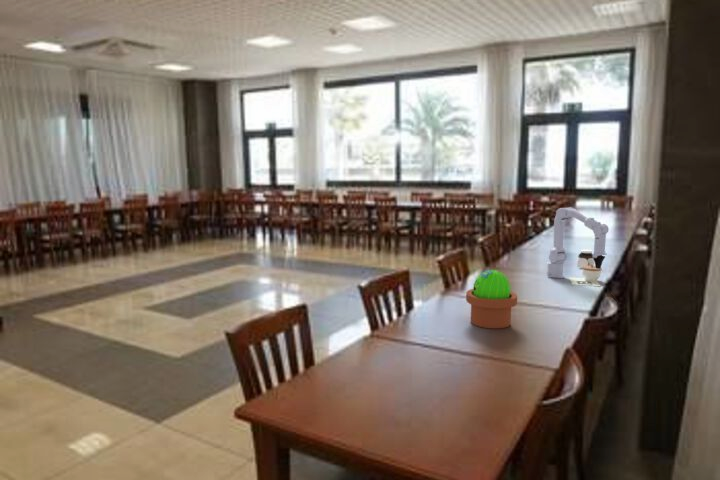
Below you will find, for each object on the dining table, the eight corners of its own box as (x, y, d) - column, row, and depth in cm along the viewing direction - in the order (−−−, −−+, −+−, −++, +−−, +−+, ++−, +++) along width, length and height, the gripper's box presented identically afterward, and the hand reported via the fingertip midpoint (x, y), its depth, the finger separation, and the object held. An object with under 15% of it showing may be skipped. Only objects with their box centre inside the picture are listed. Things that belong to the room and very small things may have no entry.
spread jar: (591, 266, 364) (592, 249, 362) (596, 269, 353) (598, 252, 351) (573, 265, 365) (574, 249, 363) (578, 269, 354) (579, 252, 352)
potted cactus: (506, 315, 250) (509, 263, 246) (522, 330, 228) (525, 274, 224) (460, 316, 249) (462, 264, 245) (472, 331, 227) (474, 274, 223)
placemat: (573, 284, 310) (573, 284, 310) (568, 277, 328) (568, 277, 328) (600, 286, 306) (600, 285, 306) (594, 279, 324) (594, 278, 324)
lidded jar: (603, 281, 316) (605, 266, 315) (586, 281, 316) (587, 266, 315) (596, 277, 327) (597, 263, 325) (578, 277, 327) (579, 263, 325)
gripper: (602, 247, 296) (600, 271, 298) (611, 244, 306) (609, 267, 309) (589, 246, 301) (587, 269, 303) (598, 243, 311) (597, 265, 313)
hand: (598, 268), depth 306 cm, fingers closed
